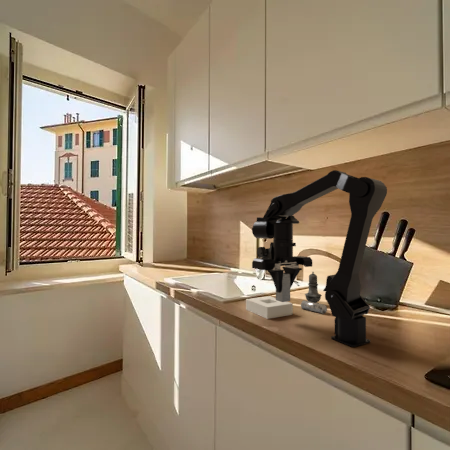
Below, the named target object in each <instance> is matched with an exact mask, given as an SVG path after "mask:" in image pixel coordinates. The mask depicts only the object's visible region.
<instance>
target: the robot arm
mask: <svg viewBox="0 0 450 450" xmlns="http://www.w3.org/2000/svg"><path fill="white" fill-rule="evenodd" d="M338 189H339V190H340V191H343V192H345V193H348V195H349V198H348V203H349V210H350V213H351V215H350V220H349V223H348V228H347V233H346V235H345V240H344V245H343V249H342V253H341V257H340V261H339V265H338V269H337V271H336V272H335V274H330V275H327V277H326V279H325V280H326V281H325V287H324V288H323V292H325V293H324V299H325V300H326V303H327V304H328V306H329V308H330V311H331V316H332V317H333V318H334V335H332V336H330V337H331V340H334V341H337V342H339V343H341V344H344V345H347V346H349V347H351V348H355V347H359V346H362V345H366V344H369V343H371V339H368V338H367V317H366V316H364V315H368V314H369V312H370V308H371V306H370V304H369V303H368V302H367V301H366V300H365V298H363V297H362V295H361V289H362V285H361V281H360V275H359V273H360V269H361V267H362V266H361V265H362V261H363V257H364V253H365V249H366V245H367V242H368V237H369V234H370V229H371V226H372V221H373V219H374V217H375V216H376V214H377V213H378V212H379V210H380V209H381V207H382V205H383V203H384V201H385V199H386V197H387V195H388V189H387V186H386V184H385V183H384V182H383V181H382V180H379V179H375V178H371V177H366V176H361V177H357V176H353V175H351V174H347V173H346V172H344V171H340V170H338V169H337V170H336V169H335V170H332V171H329V172H328V174H326V175H324V176H322V177H320V178H318V179H315V180H314V181H312V182H311V183H308V184H307V185H304V186H303V187H301V188H300V189H298V190H295V191H293V192H289V193H284V194H280V195H277V196H274V197H273V198H272V199H271V200H270V204H269V206H268V208H267V210H266V211H265V213H264V215H263V216H262V217H260V216H259V217H256V221H255V222H254V223H253V225H252V227H251V233H252V235H253V237H255V238H256V239H264V240H265V239H267V240H269V239H270V240H272V242H270V243H269V247H267V248H266V247H265V246H259V247H257V250H256V255H257V258H253V260H252V262H251V268H252V269H254V270H255V269H256V270H260V271H261V270H262V271H267V273H268V274H270V276H271V279H272V282H273V284H274V287H275V291H276V290H277V292H279V293H280V291H281V287H282V279H283V273H289V274H290V289H292V286H293V284H294V282H295V280H296V278H297V277H298V274H299V273H300V271H303V268H302V267H300V266H304V267H305V268H309V267H313V259H312V258H311V257H310V256H304V255H294V247H296V246H297V245H296V242H294V239H293V238H294V229H293V228H294V226H293V225H294V224H295V225H296V224H300V221H299V220H298V219H297V218H296V217H295V216H294V215H296V213H298V212H299V211H300V210H301V209H302V208H303V207H304V206H305V205H307V204H309V203H310V202H313V201H316V200H318V199H319V198H322V197H323V196H326V195H328V194H330V193H332V192H334V191H335V190H338ZM281 268H282V269H281Z"/></svg>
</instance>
